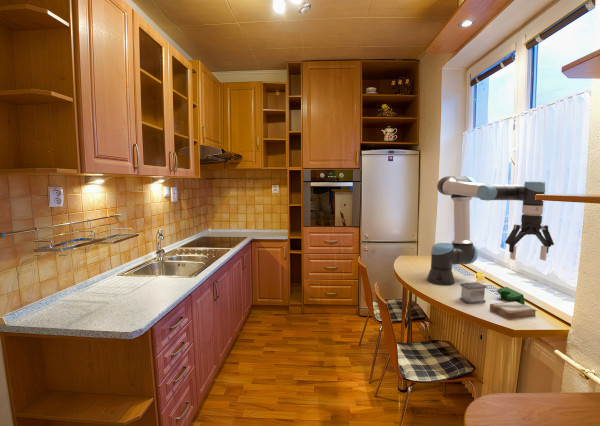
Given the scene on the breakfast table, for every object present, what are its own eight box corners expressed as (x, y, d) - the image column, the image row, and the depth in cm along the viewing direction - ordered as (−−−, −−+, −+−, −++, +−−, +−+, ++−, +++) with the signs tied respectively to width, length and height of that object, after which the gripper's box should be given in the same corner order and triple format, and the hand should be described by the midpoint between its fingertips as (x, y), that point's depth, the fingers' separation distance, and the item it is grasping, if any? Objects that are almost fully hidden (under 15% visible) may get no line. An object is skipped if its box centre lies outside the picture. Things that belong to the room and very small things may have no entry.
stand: (489, 310, 142) (490, 303, 142) (514, 307, 146) (515, 300, 146) (508, 319, 133) (509, 312, 132) (535, 316, 136) (535, 309, 136)
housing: (459, 299, 155) (460, 283, 154) (475, 298, 157) (477, 282, 156) (468, 304, 149) (469, 287, 148) (485, 302, 152) (486, 285, 151)
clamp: (501, 306, 157) (494, 289, 159) (512, 304, 157) (504, 286, 160) (515, 307, 145) (507, 288, 148) (527, 304, 145) (519, 285, 148)
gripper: (509, 215, 134) (505, 261, 136) (567, 215, 133) (562, 262, 135) (498, 213, 141) (495, 256, 144) (553, 213, 140) (549, 257, 142)
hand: (527, 259), depth 139 cm, fingers open, 13 cm apart
